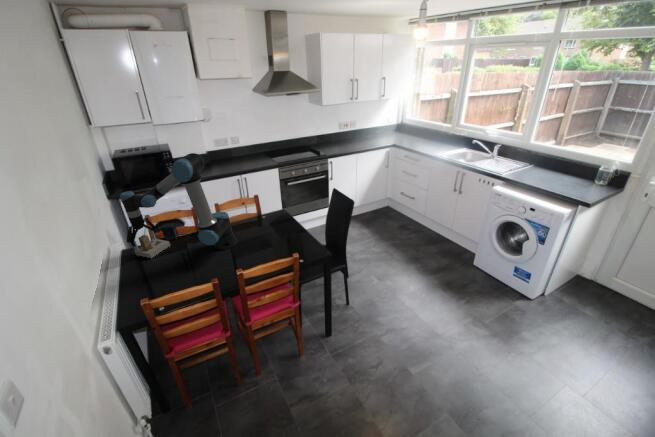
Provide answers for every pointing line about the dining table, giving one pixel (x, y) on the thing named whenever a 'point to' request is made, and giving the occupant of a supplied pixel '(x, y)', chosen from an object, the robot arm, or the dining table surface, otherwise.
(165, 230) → the box
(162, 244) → the socket block
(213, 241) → the robot arm
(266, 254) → the dining table surface
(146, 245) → the peg
